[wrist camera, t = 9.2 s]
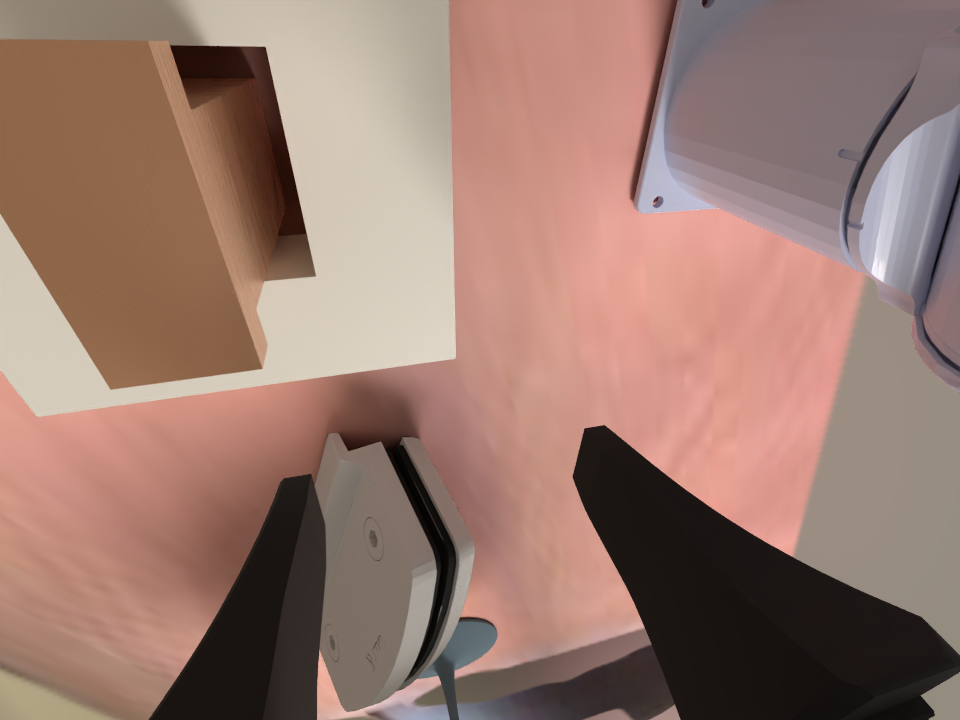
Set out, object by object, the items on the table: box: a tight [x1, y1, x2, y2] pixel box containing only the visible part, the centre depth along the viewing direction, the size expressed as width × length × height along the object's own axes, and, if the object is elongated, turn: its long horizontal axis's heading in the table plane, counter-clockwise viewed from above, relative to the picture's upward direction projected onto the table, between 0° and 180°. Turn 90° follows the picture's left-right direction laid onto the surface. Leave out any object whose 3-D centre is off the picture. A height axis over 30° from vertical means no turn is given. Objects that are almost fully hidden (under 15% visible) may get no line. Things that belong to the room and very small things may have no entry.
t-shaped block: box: [0, 39, 286, 390], centre depth 11 cm, size 3×6×9 cm, turn 0°
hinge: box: [315, 433, 475, 712], centre depth 26 cm, size 17×5×10 cm, turn 158°
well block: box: [0, 0, 456, 417], centre depth 13 cm, size 14×14×4 cm
